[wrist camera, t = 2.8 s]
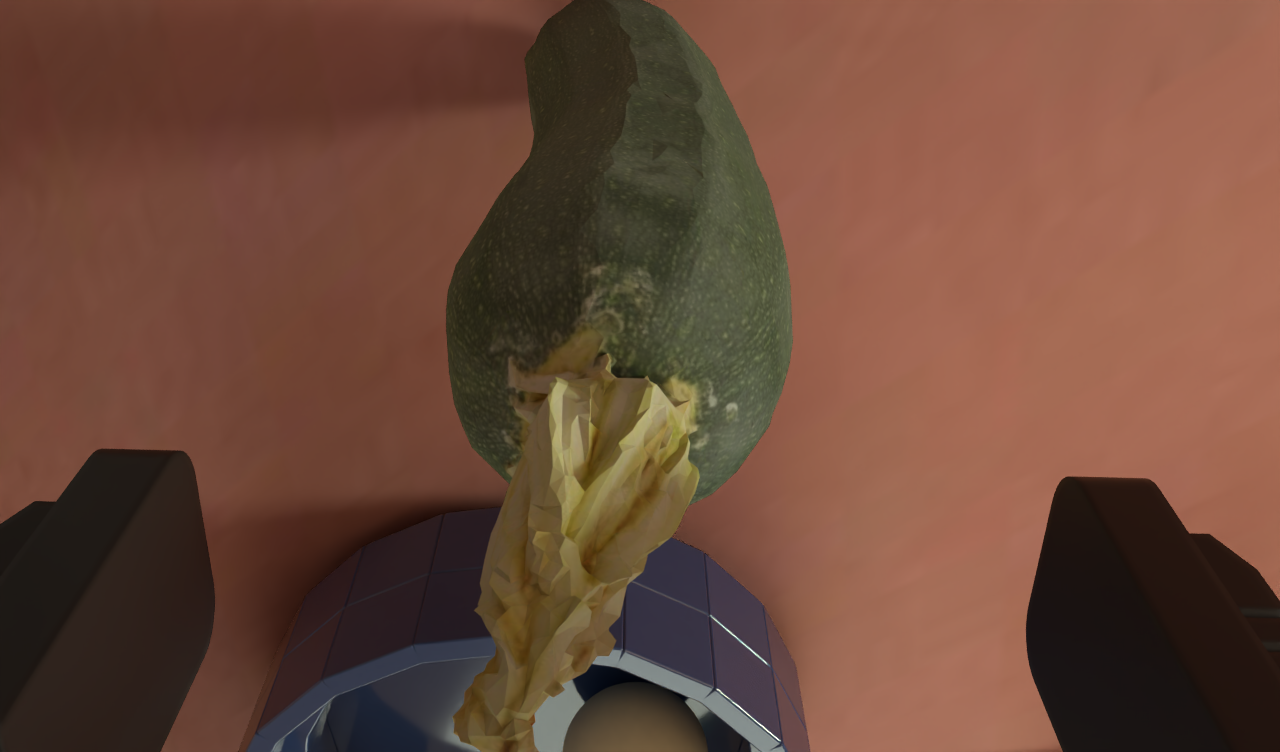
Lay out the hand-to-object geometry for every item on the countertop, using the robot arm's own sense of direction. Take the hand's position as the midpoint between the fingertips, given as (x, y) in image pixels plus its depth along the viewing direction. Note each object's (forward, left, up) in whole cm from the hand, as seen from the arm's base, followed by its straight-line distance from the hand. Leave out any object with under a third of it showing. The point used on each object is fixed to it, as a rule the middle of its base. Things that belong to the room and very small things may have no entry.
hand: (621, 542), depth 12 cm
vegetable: (0, 0, -18) cm, 18 cm away
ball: (+13, -13, -15) cm, 24 cm away
